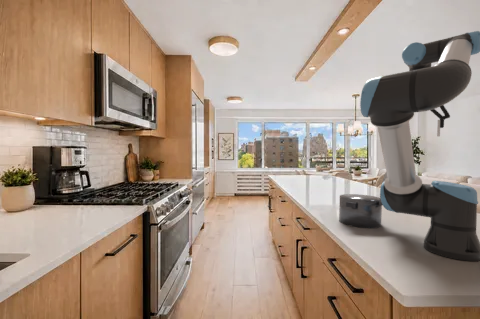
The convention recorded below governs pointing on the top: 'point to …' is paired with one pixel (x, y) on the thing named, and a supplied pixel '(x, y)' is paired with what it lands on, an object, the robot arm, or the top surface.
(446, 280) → the top surface
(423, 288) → the top surface
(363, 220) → the cooker pot
